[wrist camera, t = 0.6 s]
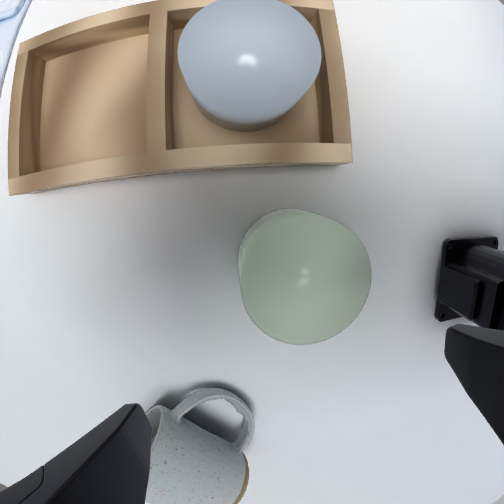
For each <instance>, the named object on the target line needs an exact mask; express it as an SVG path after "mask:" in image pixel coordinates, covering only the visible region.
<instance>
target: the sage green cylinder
mask: <svg viewBox="0 0 504 504" xmlns="http://www.w3.org/2000/svg"><path fill="white" fill-rule="evenodd" d="M238 267H239V276H240V285H241V293H242V299H243V303H244V306H245V309H246V311H247V313H248V315H249V317H250V318H251V320H252V321H253V322H254V324H255V325H256V326H257V327H258V328H259V329H260V330H261V331H262V332H264V333H265V334H267V335H268V336H270V337H272V338H274V339H276V340H278V341H281V342H284V343H289V344H297V345H304V344H313V343H318V342H321V341H324V340H326V339H329V338H331V337H333V336H335V335H336V334H338V333H340V332H341V331H342V330H344V329H345V328H346V327H347V326H348V325H349V324H351V323H352V321H353V320H354V319H355V318H356V317H357V315H358V314H359V312H360V311H361V310H362V308H363V306H364V304H365V302H366V299H367V296H368V293H369V289H370V284H371V267H370V261H369V257H368V254H367V252H366V249H365V247H364V246H363V244H362V242H361V241H360V239H359V238H358V237H357V236H356V234H355V233H353V232H352V231H351V230H350V229H349V228H348V227H346V226H345V225H343V224H341V223H339V222H337V221H335V220H332V219H330V218H327V217H324V216H321V215H318V214H315V213H312V212H309V211H305V210H302V209H296V208H286V209H279V210H275V211H273V212H270V213H268V214H266V215H264V216H262V217H261V218H260V219H258V220H257V221H256V222H255V223H254V224H253V225H252V226H251V227H250V228H249V230H248V231H247V232H246V234H245V236H244V238H243V240H242V242H241V245H240V249H239V254H238Z"/></svg>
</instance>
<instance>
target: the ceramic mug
mask: <svg viewBox="0 0 504 504" xmlns="http://www.w3.org/2000/svg"><path fill="white" fill-rule="evenodd" d="M219 398H220V399H223V398H224V399H225V400H227V401H228V402H230V403H231V404H232V405H233V406H234V407H235V408H236V411H237V412H239V413H241V414H242V415H243V416H244V424H243V427H242V430H241V432H240V434H239V436H238V437H237V439H236V440H235V442H233V443H231V442H229V441H226V440H224V439H222V438H221V437H219V436H217V435H214V434H212V433H210V432H208V431H206V430H204V429H202V428H201V427H199V426H197V425H196V424H194V423H192V422H191V421H189V420H187V419H185V418H184V417H182V416H183V415H184V414H185V413H187V412H188V411H189V410H190V409H192V408H193V407H195V406H196V405H198V404H200V403H202V402H205V401H209V400H215V399H219ZM145 414H146V416H147V418H148V420H149V422H150V424H151V426H152V441H151V458H150V473H149V480H148V486H147V492H146V499H145V501H146V502H148V503H151V504H238V503H239V501H240V500H241V499H242V497H243V495H244V493H245V491H246V488H247V484H248V479H249V467H248V462H247V459H246V457H245V455H244V454H243V452H242V451H243V450H244V449H245V448H246V446H247V445H248V444H249V442H250V440H251V438H252V436H253V432H254V427H255V425H254V418H253V415H252V412H251V410H250V408H249V407H248V406H247V405H246V404H245V403H244V402H243V400H242V399H241V398H239V397H238V396H237V395H235V394H234V393H232V392H230V391H228V390H225V389H221V388H207V389H202V390H199V391H196V392H194V393H192V394H191V395H189V396H188V397H187V398H185V399H184V400H183V401H182V402H180V403H179V404H178V405H177V406H176V407H175V408H174V409H173V410H170V409H168V408H166V407H165V406H163V405H156V406H154V407H152V408H151V409H150V410H149V411H148V412H146V413H145Z"/></svg>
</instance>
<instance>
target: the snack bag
mask: <svg viewBox="0 0 504 504" xmlns="http://www.w3.org/2000/svg"><path fill="white" fill-rule="evenodd" d="M31 2H32V0H0V95H1V90H2V85H3V80H4V76H5V73H6V69H7V65H8V62H9V58H10V55H11V51H12V48H13V45H14V42H15V40H16V37H17V34H18V32H19V29H20V27H21V24H22V22H23V19H24V17H25V15H26V12H27V10H28V8H29V6H30V4H31Z"/></svg>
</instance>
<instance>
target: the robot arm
mask: <svg viewBox="0 0 504 504" xmlns="http://www.w3.org/2000/svg"><path fill="white" fill-rule="evenodd" d="M449 245H450V248H449ZM441 314H442V315H441ZM459 317H464V318H466V319H467V320H469V321H472V322H473V323H475V324H476V325H478V326H480V327H476V326H470V325H464V324H456V325H454V326H451V327H449V328H448V329H447V331H446V338H445V350H444V352H445V357H446V359H447V361H448V363H449V364H450V366H451V368H452V369H453V371H454V373H455V374H456V376H457V378H458V379H459V381H460V383H461V384H462V386H463V388H464V389H465V391H466V392H467V394H468V395H469V397H470V398H471V400H472V401H473V402H474V404H475V405H476V406H477V408H478V409H479V411H480V412H481V413H482V415H483V416H484V417H485V419H486V420H487V422H488V423H489V424H490V426H491V427H492V429H493V430H494V432H495V433H496V434H497V436H498V437H499V439H500V440H501V442H502V443H503V445H504V251H501V250H498V239H497V237H493V236H487V237H471V238H455V239H447V240H446V241H445V242H444V245H443V257H442V268H441V278H440V286H439V294H438V301H437V308H436V314H435V318H436V319H437V320H438V321H440V322H442V321H446V320H450V319H455V318H459ZM151 441H152V426H151V424H150V422H149V420H148V418H147V416H146V414H145V412H144V411H143V409H142V407H141V406H140V405H139V404H137V403H134V404H125V405H124V406H122V407H121V408H120V409H119V410H117V411H116V412H115V413H113V414H112V415H111V416H109V417H108V418H107V419H105V420H104V421H103V422H101V423H100V424H99V425H98V426H96V427H95V428H94V429H92V430H91V431H90V432H88V433H87V434H85V435H84V436H83V437H81V438H80V439H79V440H77V441H76V442H75V443H73V444H72V445H71V446H69V447H68V448H66V449H65V450H64V451H62V452H61V453H60V454H58V455H57V456H55V457H54V458H53V459H51V460H50V461H48V462H47V463H46V464H45V465H44V466H41V467H40V468H38V469H37V470H36V471H34V472H33V473H31V474H30V475H28V476H27V477H25V478H23V479H22V480H20V481H18V482H17V483H15V484H13V485H12V486H10V487H8V488H6V489H4V490H3V491H1V492H0V504H145V499H146V492H147V486H148V480H149V473H150V458H151Z"/></svg>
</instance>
